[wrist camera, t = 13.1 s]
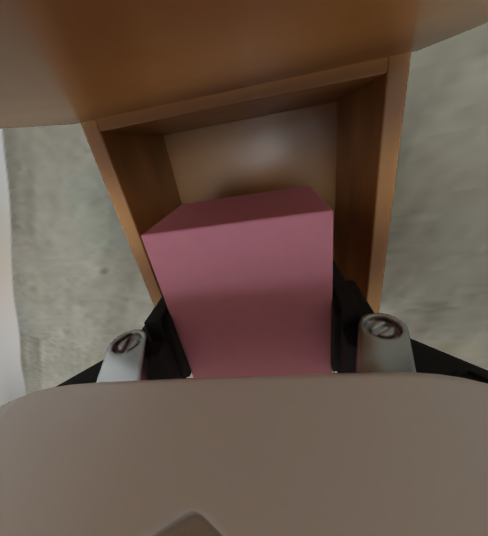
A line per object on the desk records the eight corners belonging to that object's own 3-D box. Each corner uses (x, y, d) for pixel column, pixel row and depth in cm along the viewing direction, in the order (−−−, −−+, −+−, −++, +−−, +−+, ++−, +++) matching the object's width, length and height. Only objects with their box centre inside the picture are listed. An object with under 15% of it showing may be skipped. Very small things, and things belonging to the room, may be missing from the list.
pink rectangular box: (181, 204, 11) (139, 235, 7) (309, 185, 10) (334, 209, 6) (221, 350, 15) (207, 416, 11) (314, 345, 14) (331, 414, 10)
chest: (340, 294, 20) (373, 364, 14) (204, 305, 22) (179, 371, 16) (346, 86, 14) (413, 40, 7) (153, 125, 16) (75, 114, 9)
